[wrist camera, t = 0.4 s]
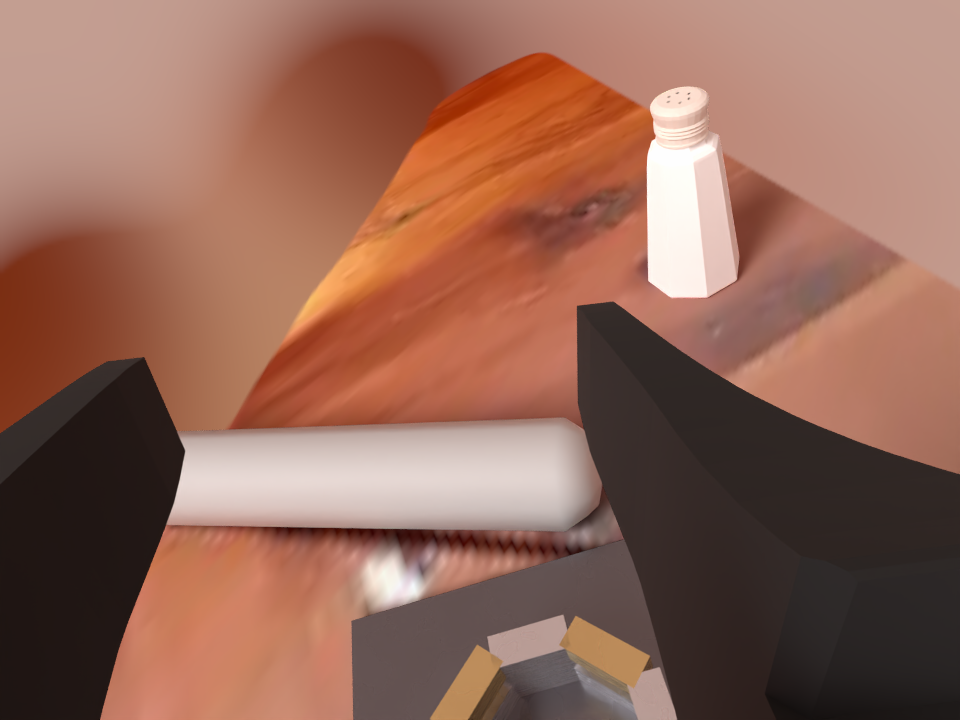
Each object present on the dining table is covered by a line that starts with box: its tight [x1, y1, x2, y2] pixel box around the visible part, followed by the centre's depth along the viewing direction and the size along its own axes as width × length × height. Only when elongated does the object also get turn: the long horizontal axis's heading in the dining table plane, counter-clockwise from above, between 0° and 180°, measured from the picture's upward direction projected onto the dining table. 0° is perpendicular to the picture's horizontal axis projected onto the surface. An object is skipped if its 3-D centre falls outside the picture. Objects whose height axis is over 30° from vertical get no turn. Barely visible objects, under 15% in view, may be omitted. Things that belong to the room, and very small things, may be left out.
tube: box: [166, 417, 602, 532], centre depth 34 cm, size 5×5×25 cm
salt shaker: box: [647, 87, 739, 298], centre depth 37 cm, size 5×5×11 cm
